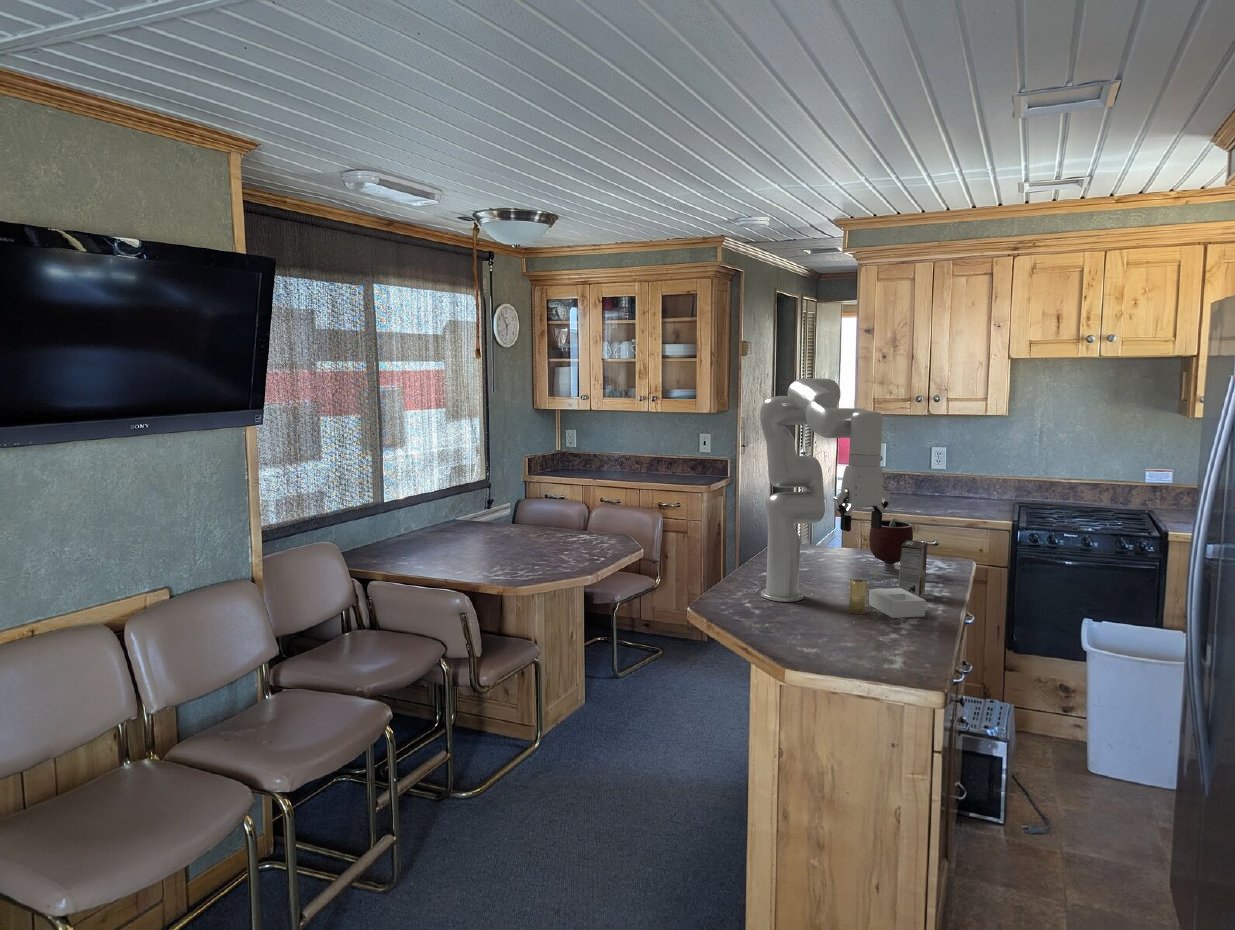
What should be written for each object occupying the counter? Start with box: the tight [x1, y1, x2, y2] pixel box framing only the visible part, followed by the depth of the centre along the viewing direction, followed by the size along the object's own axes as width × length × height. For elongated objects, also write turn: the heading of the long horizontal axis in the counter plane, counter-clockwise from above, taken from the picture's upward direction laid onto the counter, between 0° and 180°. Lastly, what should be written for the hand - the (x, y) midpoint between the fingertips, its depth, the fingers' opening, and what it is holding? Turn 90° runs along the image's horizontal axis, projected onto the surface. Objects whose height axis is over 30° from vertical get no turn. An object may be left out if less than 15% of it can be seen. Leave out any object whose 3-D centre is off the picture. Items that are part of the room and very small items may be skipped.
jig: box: [868, 587, 927, 619], centre depth 237 cm, size 13×10×4 cm
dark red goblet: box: [868, 519, 914, 579], centre depth 278 cm, size 16×14×20 cm
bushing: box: [848, 578, 868, 615], centre depth 235 cm, size 4×4×9 cm
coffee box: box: [898, 540, 928, 598], centre depth 252 cm, size 9×6×16 cm
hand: (860, 529), depth 207 cm, fingers open, 9 cm apart
